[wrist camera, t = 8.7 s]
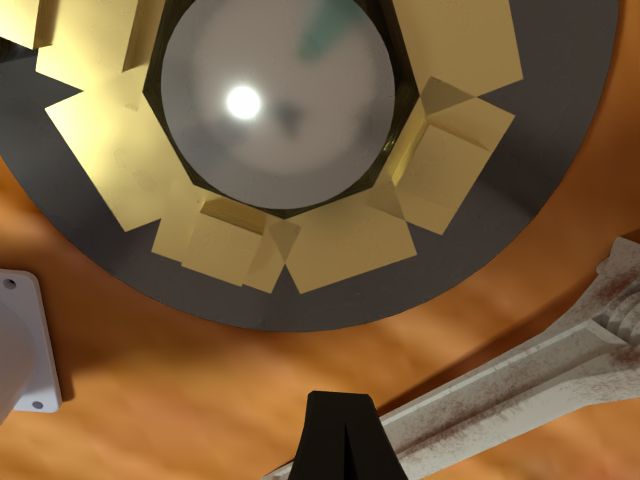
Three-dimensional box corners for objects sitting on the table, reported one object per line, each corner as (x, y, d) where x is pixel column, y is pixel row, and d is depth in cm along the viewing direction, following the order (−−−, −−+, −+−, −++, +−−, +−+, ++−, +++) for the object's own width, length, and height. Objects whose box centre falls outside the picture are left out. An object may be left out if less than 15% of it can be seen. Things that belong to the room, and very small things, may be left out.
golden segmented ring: (372, 287, 20) (386, 354, 16) (-56, 129, 17) (-162, 167, 13) (559, -37, 15) (643, -48, 11) (-20, -361, 11) (-184, -536, 8)
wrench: (244, 448, 30) (773, 141, 17) (265, 462, 31) (791, 175, 18) (209, 597, 23) (1035, 267, 11) (237, 611, 24) (1049, 315, 11)
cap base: (24, 305, 21) (-54, 388, 17) (-149, -469, 11) (-460, -779, 7) (504, 342, 22) (551, 429, 18) (743, -325, 12) (986, -506, 8)
